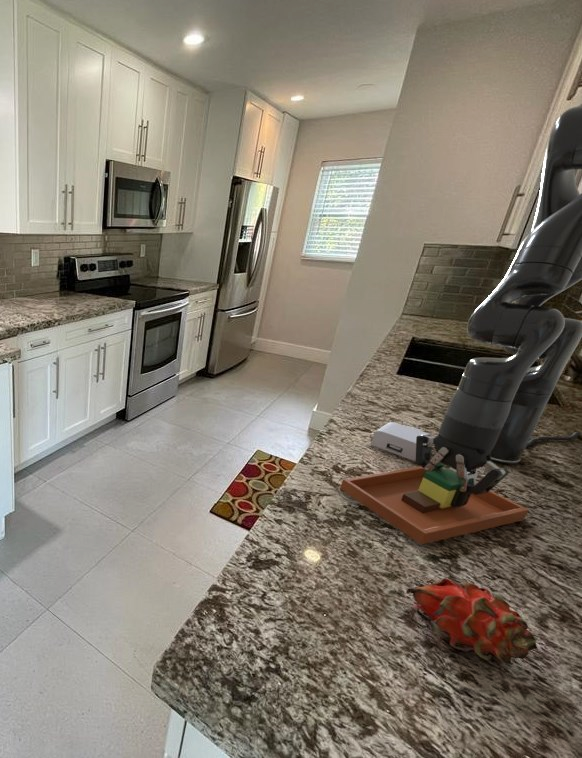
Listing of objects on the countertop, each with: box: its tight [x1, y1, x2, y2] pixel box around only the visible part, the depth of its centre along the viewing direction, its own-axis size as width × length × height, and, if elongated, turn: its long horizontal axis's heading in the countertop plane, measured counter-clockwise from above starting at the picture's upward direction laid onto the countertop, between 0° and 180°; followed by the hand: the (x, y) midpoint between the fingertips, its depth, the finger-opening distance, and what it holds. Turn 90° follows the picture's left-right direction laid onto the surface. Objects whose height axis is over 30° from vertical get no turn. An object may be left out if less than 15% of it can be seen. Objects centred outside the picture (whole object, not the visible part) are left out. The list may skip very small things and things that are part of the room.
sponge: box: [418, 467, 459, 508], centre depth 77 cm, size 6×4×5 cm
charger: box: [370, 421, 434, 462], centre depth 99 cm, size 5×9×15 cm
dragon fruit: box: [405, 577, 538, 666], centre depth 51 cm, size 8×8×12 cm
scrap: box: [401, 491, 440, 513], centre depth 77 cm, size 4×4×2 cm
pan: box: [339, 465, 530, 545], centre depth 78 cm, size 26×16×3 cm, turn 106°
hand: (440, 497), depth 78 cm, fingers closed on sponge, 4 cm apart
